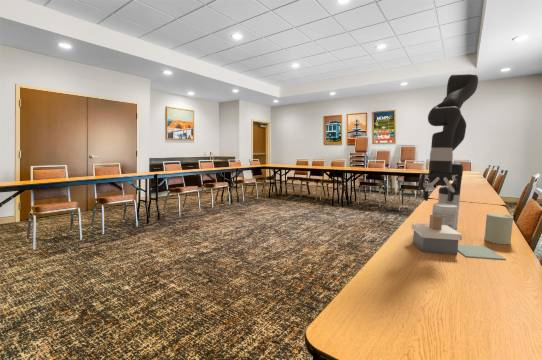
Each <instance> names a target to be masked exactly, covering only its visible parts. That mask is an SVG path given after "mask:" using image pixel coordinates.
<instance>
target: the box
mask: <svg viewBox="0 0 542 360" xmlns="http://www.w3.org/2000/svg"><path fill="white" fill-rule="evenodd" d="M412 237H413V238H412V242H413V244H414V245H415V246H416V247H417V249H419V250H420V251H421V252H422V253H430V254H431V253H432V254H434V253H435V254H446V255H458V244H459V240H450V239H435V238H422V237H421V236H420V235H419V234H418V233H416V232H415V231H414V230H413V236H412Z"/></svg>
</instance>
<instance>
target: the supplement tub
mask: <svg viewBox="0 0 542 360" xmlns="http://www.w3.org/2000/svg"><path fill="white" fill-rule="evenodd" d="M431 212H432V213H431V215H439V216H441V217H442V225H447V226H449V227H450V228H452V229H454V230H455V231H457V230H456V219H457V206H456V205H453V204H446V203H438V202H435V203H433V204H432V211H431Z"/></svg>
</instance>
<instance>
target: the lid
mask: <svg viewBox="0 0 542 360" xmlns="http://www.w3.org/2000/svg"><path fill="white" fill-rule="evenodd" d="M411 230H413V232H414V231H415V232H416V233H418V234H419V235H420V236H421V237H422V238H435V239H450V240H458V241H462V238H463V234H462V233H460V232H459V231H457V230H456V231H455V230H454V229H452V228H450V227H449V226H447V225H442V217H441V216H439V215H432V214H430V215H429V223H414V222H413V223H411Z"/></svg>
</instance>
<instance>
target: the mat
mask: <svg viewBox="0 0 542 360" xmlns="http://www.w3.org/2000/svg"><path fill="white" fill-rule="evenodd" d="M457 253H460V254H461V255H462V256H464V257H465V258H477V259H489V260H501V261H503V260H504V261H506V260H507V259H506V257H503V256H501V255H500V254H499V253H497V252H495V251H493V250H492V249H490V248H488V247H487V246H485V245H473V244H472V245H471V244H462V243H461V244H459V243H458V251H457Z"/></svg>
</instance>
